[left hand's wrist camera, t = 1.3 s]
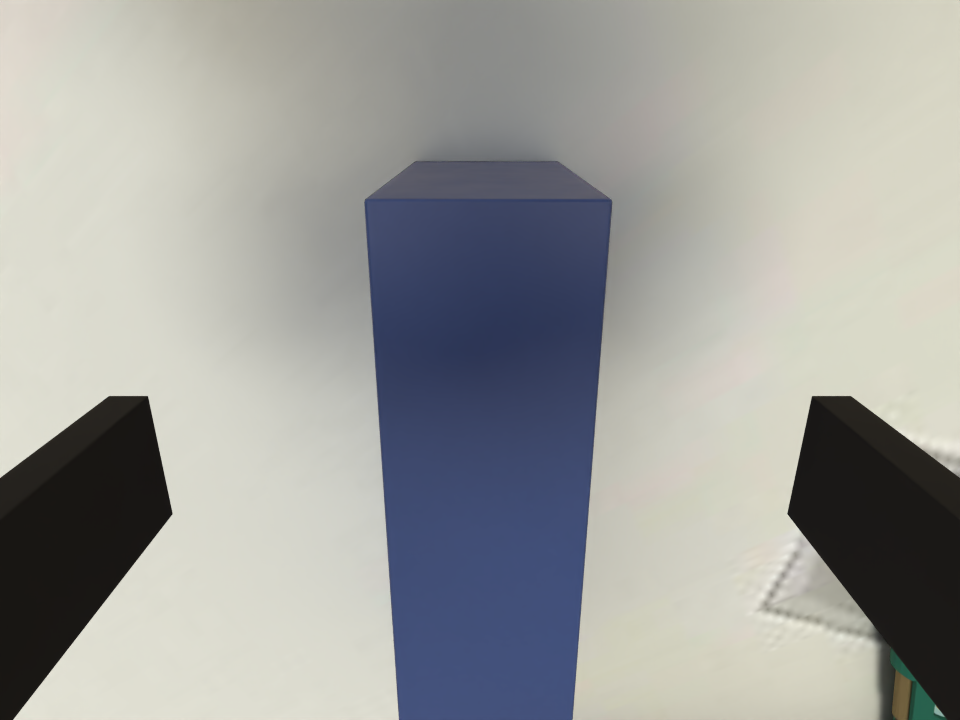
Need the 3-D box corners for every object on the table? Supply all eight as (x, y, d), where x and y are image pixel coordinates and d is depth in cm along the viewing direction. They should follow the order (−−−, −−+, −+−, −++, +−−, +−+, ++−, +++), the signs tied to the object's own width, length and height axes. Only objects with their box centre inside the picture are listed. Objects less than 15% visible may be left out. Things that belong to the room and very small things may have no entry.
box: (413, 161, 27) (363, 199, 16) (559, 161, 27) (613, 199, 16) (431, 628, 36) (407, 858, 25) (538, 628, 36) (562, 859, 25)
